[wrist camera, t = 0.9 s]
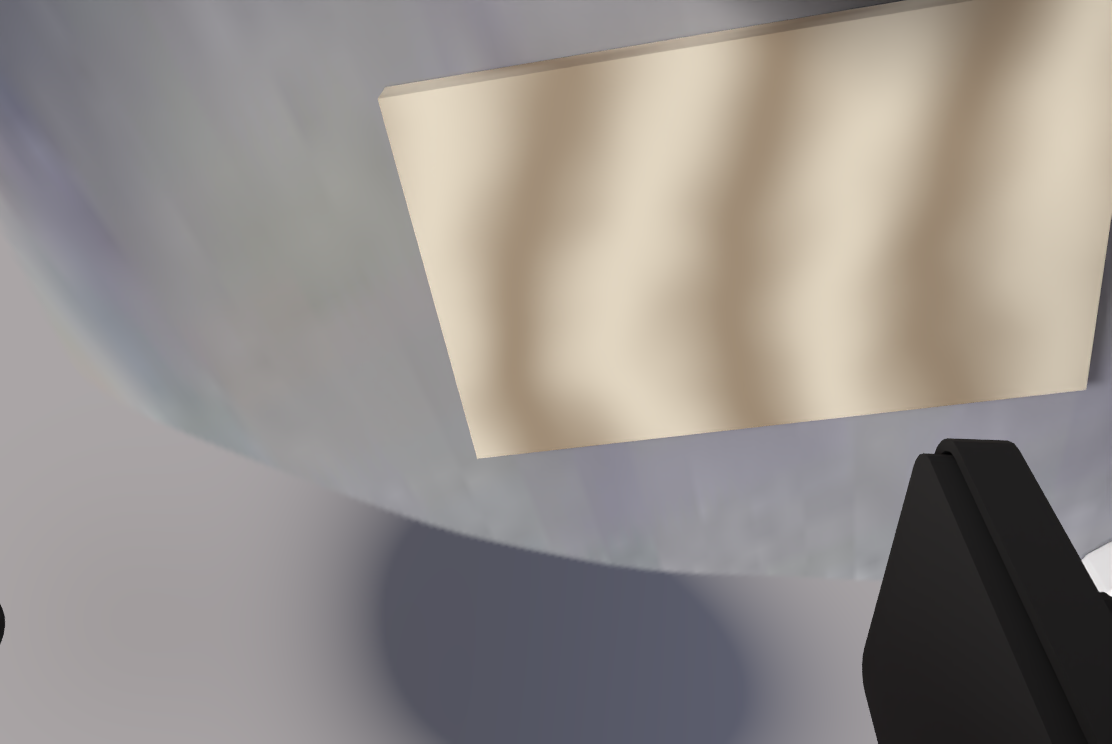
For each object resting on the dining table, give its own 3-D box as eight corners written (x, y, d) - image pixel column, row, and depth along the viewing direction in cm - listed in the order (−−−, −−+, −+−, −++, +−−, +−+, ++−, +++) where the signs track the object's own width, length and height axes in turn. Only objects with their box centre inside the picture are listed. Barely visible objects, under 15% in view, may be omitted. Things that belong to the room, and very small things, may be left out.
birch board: (1127, -37, 27) (1147, -29, 26) (1072, 371, 35) (1086, 389, 34) (385, 87, 30) (377, 98, 29) (480, 439, 38) (477, 458, 37)
